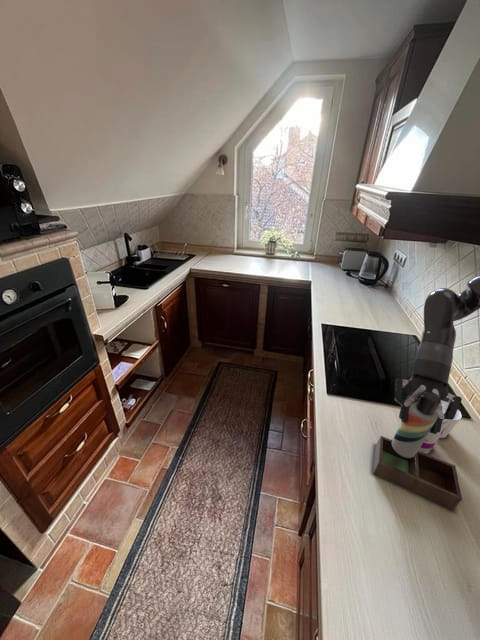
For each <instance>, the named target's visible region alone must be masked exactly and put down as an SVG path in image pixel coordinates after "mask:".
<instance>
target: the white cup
mask: <svg viewBox="0 0 480 640" xmlns="http://www.w3.org/2000/svg"><path fill="white" fill-rule="evenodd" d="M441 404H442V407H443V408H444V409H445V410H446V409H447V407H448V405H449V403H448V401H444V400H441ZM462 418H463V416H462V413H461V411H460V409H458V410H457V412H456V415H455V417H454V419H452V420H450V419H449V423H448V425H447V427H446V428H445V430H444V431H443V433H442V434H441V436H440V437H439V439H445V438H446V437H447V436H448V435H449V433H451V432H452V430H454V428H455V427H456V426H457V424H458V423H459V422H460V420H461V419H462Z"/></svg>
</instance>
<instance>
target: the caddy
mask: <svg viewBox="0 0 480 640" xmlns="http://www.w3.org/2000/svg"><path fill="white" fill-rule="evenodd" d="M392 440H393V439H390V438H387V437H385V436H383V435H380V436H379V438H378V440H377V442H376V443H375V444H376V445H375V449H374V450H375V451H374V459H373V470H372V471H373V472H372V473H373V474H374V475H376V476H378V477H380V478H382V479H384V480H386V481H389V482H391V483H393V484H395V485H397V486H399V487H401V488H404V489H406V490H408V491H410V492H412V493H414V494H417V495H418V496H420V497H423V498H425V499H427V500H429V501H432V502H434V503H436V504H437V505H440V506H442V507H444V508H447V509H449V510H450V511H454V510H455V508H456V507H457V506H458V505H459V504H460V503H461V501H462V500H463V497H462V492H461V487H460V483H459V478H458V477H459V476H458V473H457V467H456V465H455V464H453V463H450V462H447V461H446V460H443V459H440V458H437V457H436V456H433V455H430V454H429V453H427V454H425V453H423V452H420V451H417V453H416V454H415V456H414V457H412V458H406V457H403V456H401V455H399V454H398V453H397V452H396V451H395V450H394V449H393V447H392Z"/></svg>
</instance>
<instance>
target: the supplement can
mask: <svg viewBox="0 0 480 640" xmlns="http://www.w3.org/2000/svg"><path fill="white" fill-rule="evenodd" d="M442 410H443V414H445V412H446V410H445V409H444V408H443V407H442ZM448 423H449V419H444V420H443V421H442V426H441V431H440V432H439V433H438V432H437V434H433V433H430V431H429V433H428V435H427V436H426V438H425V440H424V441H423V443H422V445H421V446H420V448H419V449H418V451H420V452H423V453H425V454H429V453H431V451H432V450H433V448H434V447H435V445H436V443H437V442H438V440H439V439H440V438H439V437H440V436H441V434H442V433H443V431H444V430H445V428H446V427H447V425H448Z"/></svg>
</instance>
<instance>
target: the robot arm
mask: <svg viewBox="0 0 480 640" xmlns="http://www.w3.org/2000/svg"><path fill="white" fill-rule="evenodd" d="M478 310H480V274H479V275H476V276H474V277H472V278H471V279H469V280H468V281H467V283H466V289H464V290H463V291H461V292H460V293H456V292H455V291H454V290H453V289H450V288H447V287H446V288H445V287H439V288H437V289H434V290H433V291H432V292H430V293H429V294H428V295H427V297H426V298H425V301H424V305H423V330H422V333H421V336H420V337H421V338H420V342H419V346H418V348H417V350H416V354H415V356H414V362H413V365H412V371H411V375H410V378H409V379H404V378H403V379H402V378H401V377H397V378H396V379H395V381H394V394H393V395H394V397H393V398H394V402H396V403H397V404H399V405H400V409H399V414H398V418H399V420H400V423H402V422H404V423H406V421H407V416H408V412H409V407H410V405H411V404H412V403H413V402H416V400H419V398H420V396H421V394H422V393H423V392H426V391H430V392H433V393H435V394H437V395H438V396H439V397H440V399H441V400H443V399H444V398H447V401H446V402H447V403H449V405H448V407H447V409H446V412H445V414H443V410H442V404H441V403H440V405H439V406H438V408H437V409H436V412H437V415H438V418H437V420H436V422H435V423H434V425H433V427H432V428H431V430H430V433H433V434H437V432H438V433H439V432H440V431H441V426H442V421H443V420H444V419H450V420H452V419H454V417H455V415H456V412H457V410H459V408H460V406H461V403H462V401H463V398H462V397H461V396H460V395H458V396H457V395H455V394H452V393H450V392H449V391H448V385H449V380H450V374H451V369H452V366H453V360H454V348H455V345H456V344H455V343H456V340H457V330H456V328H455V325H454V322H457V321H460V320H462V319H465V318H467V317H469V316H470V315H472V314H473V313H476V311H478ZM406 385H407V387H408V388H409V390H410V393H409V394H408V395H407V396H406V398H405V399H403V388H405V387H406Z"/></svg>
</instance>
